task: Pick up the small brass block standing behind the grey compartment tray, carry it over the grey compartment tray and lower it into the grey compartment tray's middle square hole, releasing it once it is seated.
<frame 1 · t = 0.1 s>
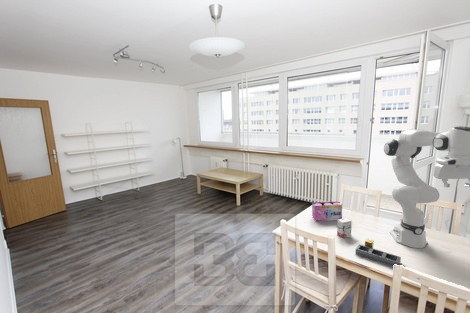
hand: (457, 187, 111), 48 cm above the table, fingers open, 8 cm apart
gum box: (326, 218, 190), on the table
ink box: (344, 235, 162), on the table
brushed brass bar: (368, 249, 143), on the table
grey compartment tray: (377, 258, 134), on the table
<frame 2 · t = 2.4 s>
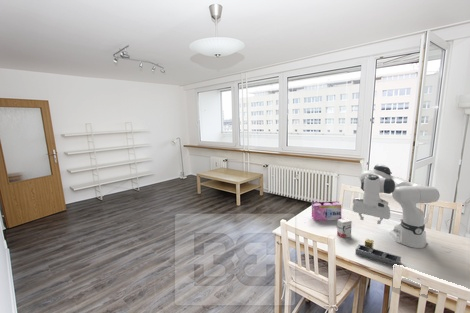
hand: (370, 221, 140), 19 cm above the table, fingers open, 8 cm apart
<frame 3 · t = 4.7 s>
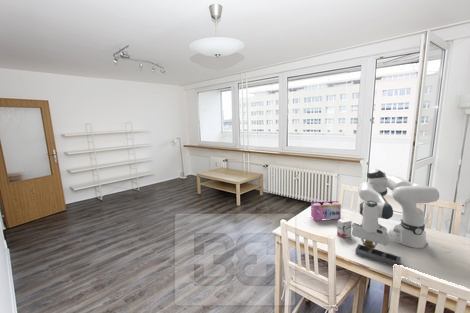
hand: (369, 246, 143), 2 cm above the table, fingers closed on brushed brass bar, 4 cm apart
brushed brass bar: (368, 249, 143), on the table, touching gripper
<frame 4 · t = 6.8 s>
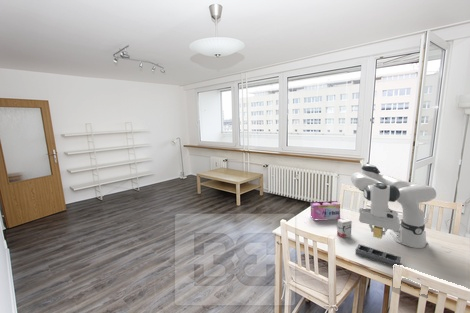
hand: (378, 232, 132), 16 cm above the table, fingers closed on brushed brass bar, 4 cm apart
brushed brass bar: (377, 236, 132), point 14 cm above the table, touching gripper
when the fingers open (4 cm above the table, at t = 8.8 s): brushed brass bar drops 2 cm, resting in grey compartment tray.
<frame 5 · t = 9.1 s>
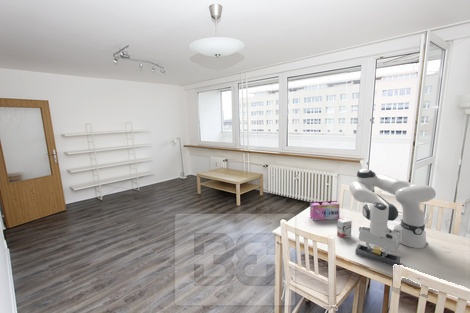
hand: (377, 251, 133), 4 cm above the table, fingers open, 7 cm apart
brushed brass bar: (377, 258, 134), resting in grey compartment tray
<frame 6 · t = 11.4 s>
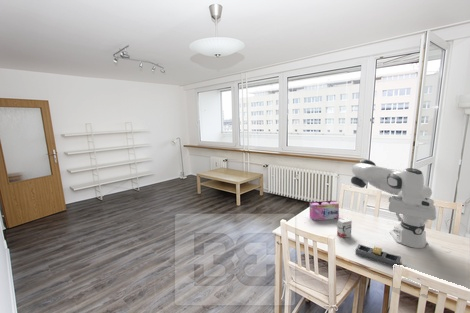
hand: (410, 223, 121), 26 cm above the table, fingers open, 8 cm apart
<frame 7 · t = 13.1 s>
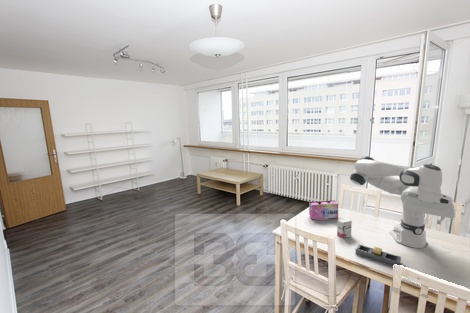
hand: (426, 221, 116), 29 cm above the table, fingers open, 8 cm apart
at the end: brushed brass bar 0.0 cm from the grey compartment tray (horizontally); brushed brass bar resting in grey compartment tray; brushed brass bar tilted 0° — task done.
